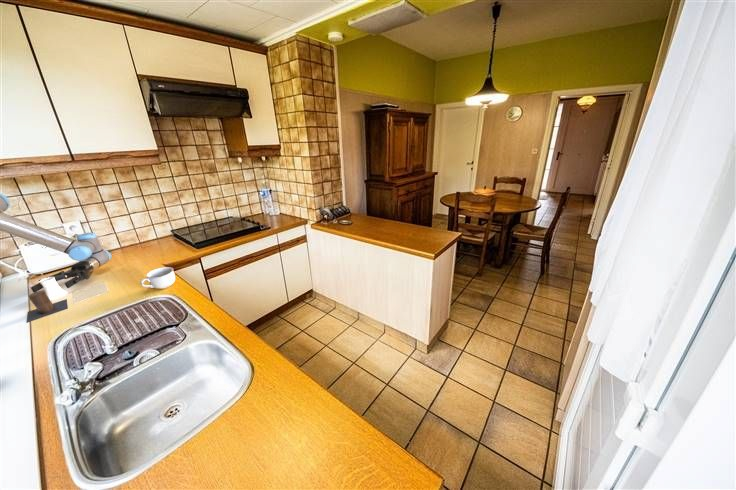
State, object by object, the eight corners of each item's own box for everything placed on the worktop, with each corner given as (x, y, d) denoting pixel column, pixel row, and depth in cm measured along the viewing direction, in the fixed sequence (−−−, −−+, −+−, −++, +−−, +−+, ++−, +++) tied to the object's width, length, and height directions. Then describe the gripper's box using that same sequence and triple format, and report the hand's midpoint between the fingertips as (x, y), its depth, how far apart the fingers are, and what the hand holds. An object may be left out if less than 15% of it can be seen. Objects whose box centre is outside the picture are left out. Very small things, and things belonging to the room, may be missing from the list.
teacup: (174, 277, 139) (168, 264, 136) (181, 284, 133) (175, 270, 129) (141, 290, 129) (135, 275, 126) (147, 297, 123) (141, 282, 120)
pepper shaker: (40, 311, 115) (28, 294, 112) (55, 306, 118) (44, 289, 115) (39, 315, 112) (27, 298, 109) (55, 310, 116) (44, 293, 112)
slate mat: (28, 313, 116) (27, 311, 116) (67, 300, 124) (66, 298, 124) (27, 324, 109) (26, 322, 108) (68, 310, 117) (67, 308, 116)
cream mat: (72, 293, 130) (71, 291, 130) (105, 282, 138) (104, 281, 138) (74, 305, 120) (73, 303, 120) (109, 293, 128) (108, 291, 128)
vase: (50, 303, 123) (38, 284, 119) (43, 299, 126) (31, 281, 122) (72, 294, 129) (61, 276, 125) (65, 291, 132) (54, 274, 128)
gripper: (114, 270, 147) (84, 290, 127) (62, 276, 143) (23, 298, 124) (108, 257, 144) (76, 277, 124) (54, 264, 140) (13, 284, 121)
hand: (49, 287), depth 124 cm, fingers open, 13 cm apart
